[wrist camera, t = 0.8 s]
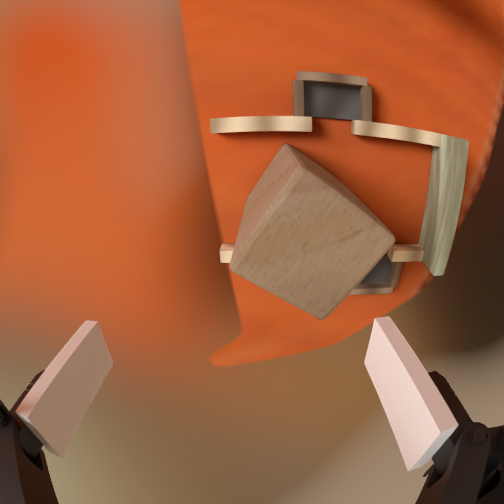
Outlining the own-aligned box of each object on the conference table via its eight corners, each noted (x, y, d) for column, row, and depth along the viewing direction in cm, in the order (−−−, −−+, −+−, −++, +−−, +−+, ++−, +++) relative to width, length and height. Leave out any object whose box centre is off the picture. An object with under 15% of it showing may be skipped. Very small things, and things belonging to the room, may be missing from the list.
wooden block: (246, 198, 40) (226, 270, 22) (284, 141, 36) (301, 163, 18) (302, 234, 42) (323, 323, 24) (342, 181, 37) (399, 240, 20)
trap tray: (226, 287, 47) (219, 313, 41) (211, 77, 32) (199, 68, 25) (416, 284, 44) (432, 306, 38) (443, 97, 29) (469, 98, 23)
